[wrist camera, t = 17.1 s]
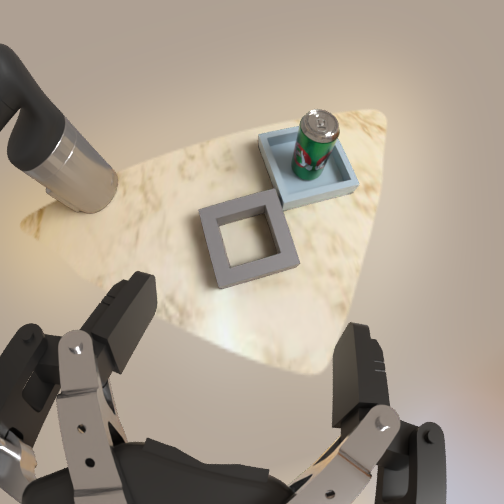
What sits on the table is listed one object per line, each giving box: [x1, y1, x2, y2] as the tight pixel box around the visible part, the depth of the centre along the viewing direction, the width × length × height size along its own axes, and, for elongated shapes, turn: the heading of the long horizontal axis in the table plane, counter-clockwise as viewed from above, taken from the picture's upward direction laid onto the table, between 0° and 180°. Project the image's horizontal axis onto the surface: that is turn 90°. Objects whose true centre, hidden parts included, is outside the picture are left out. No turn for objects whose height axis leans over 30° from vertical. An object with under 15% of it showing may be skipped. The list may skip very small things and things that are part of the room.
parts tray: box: [258, 126, 359, 211], centre depth 41 cm, size 12×12×4 cm
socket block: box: [199, 188, 300, 289], centre depth 39 cm, size 11×11×4 cm
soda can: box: [291, 109, 340, 180], centre depth 36 cm, size 5×5×12 cm
